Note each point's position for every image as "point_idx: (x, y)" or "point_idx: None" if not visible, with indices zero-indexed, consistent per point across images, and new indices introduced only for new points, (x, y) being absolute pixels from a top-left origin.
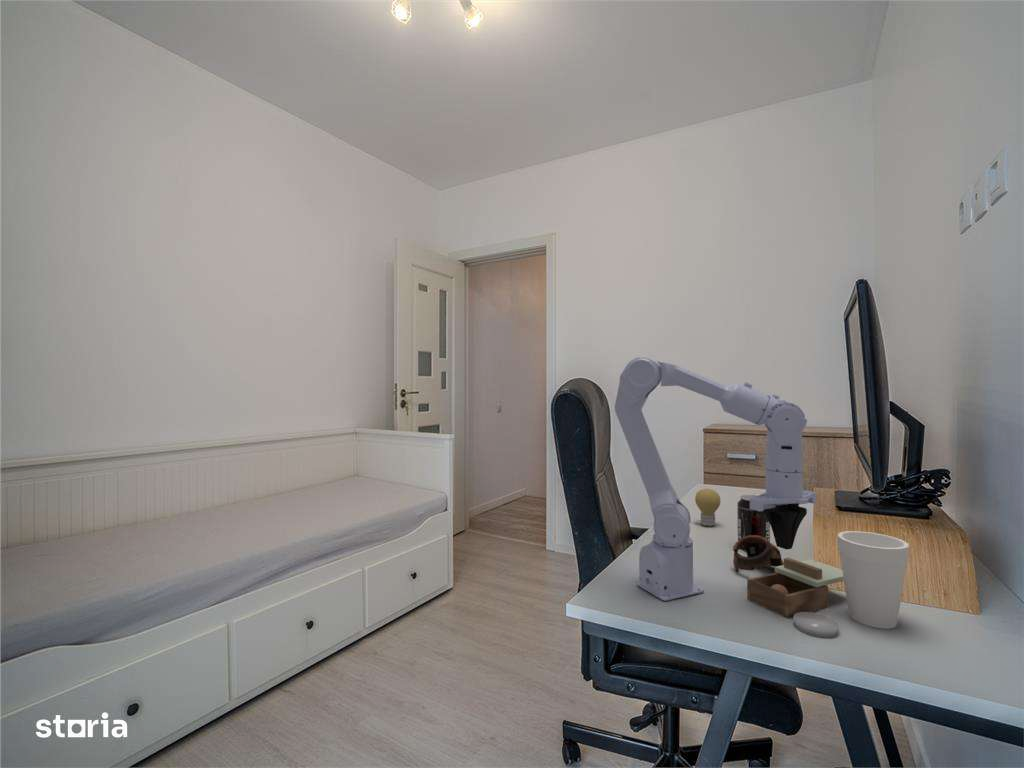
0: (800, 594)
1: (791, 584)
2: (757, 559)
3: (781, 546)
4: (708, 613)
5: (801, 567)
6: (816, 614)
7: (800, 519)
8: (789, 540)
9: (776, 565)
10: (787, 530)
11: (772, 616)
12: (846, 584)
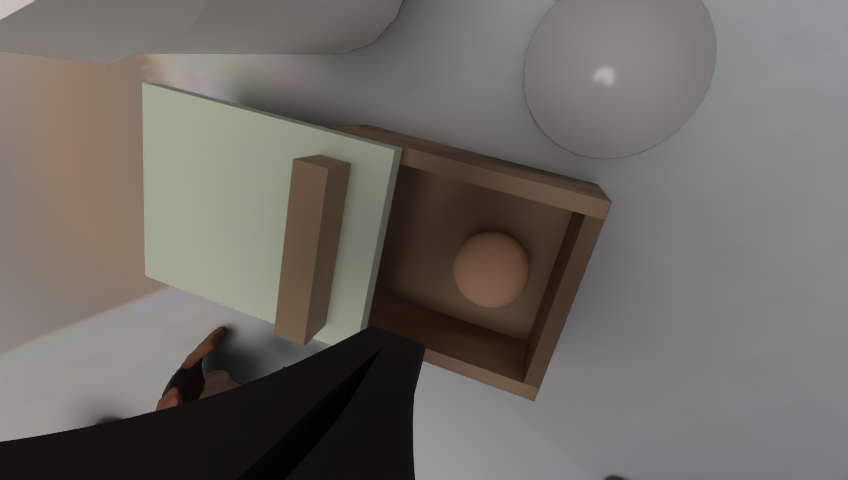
0: (518, 176)
1: None
2: None
3: (415, 387)
4: (803, 412)
5: (322, 252)
6: (539, 96)
7: (121, 453)
8: (393, 370)
9: (200, 368)
10: (410, 459)
11: (625, 233)
12: (335, 11)
